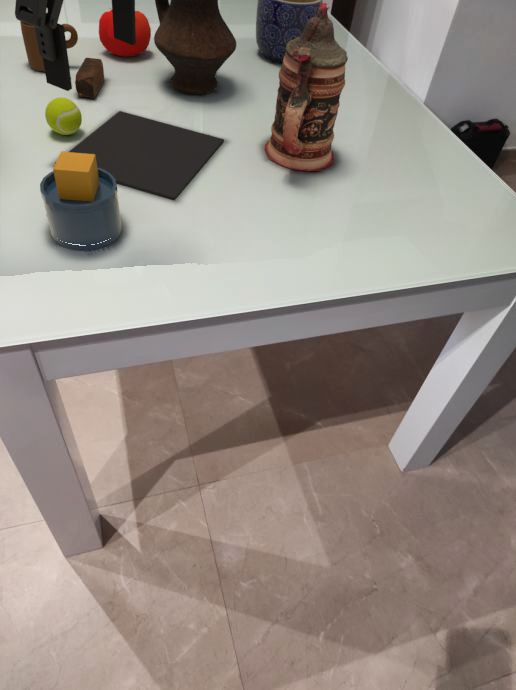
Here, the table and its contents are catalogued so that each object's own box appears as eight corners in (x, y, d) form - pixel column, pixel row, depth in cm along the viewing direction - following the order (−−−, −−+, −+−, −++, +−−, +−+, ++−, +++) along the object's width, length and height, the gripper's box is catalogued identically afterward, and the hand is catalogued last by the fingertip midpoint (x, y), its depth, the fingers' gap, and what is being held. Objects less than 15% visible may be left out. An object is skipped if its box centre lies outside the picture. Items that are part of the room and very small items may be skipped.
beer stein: (303, 141, 115) (235, 150, 106) (328, -8, 97) (249, -12, 88) (352, 170, 105) (282, 183, 96) (391, 10, 87) (309, 7, 78)
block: (59, 199, 76) (52, 169, 73) (67, 181, 80) (60, 151, 76) (93, 202, 77) (88, 172, 73) (99, 183, 80) (95, 154, 76)
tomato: (99, 45, 132) (93, -1, 125) (148, 45, 136) (146, 1, 128) (103, 63, 126) (97, 15, 118) (155, 62, 129) (153, 17, 121)
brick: (87, 78, 119) (84, 56, 116) (105, 79, 120) (102, 58, 116) (76, 98, 112) (73, 76, 109) (95, 100, 113) (92, 78, 109)
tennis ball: (78, 122, 105) (73, 89, 100) (88, 138, 102) (83, 104, 97) (45, 127, 103) (37, 93, 98) (54, 143, 99) (47, 109, 94)
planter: (321, 54, 144) (332, -7, 133) (299, 73, 134) (309, 8, 122) (268, 39, 147) (274, -22, 136) (242, 57, 137) (247, -8, 126)
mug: (83, 61, 125) (76, 17, 118) (81, 74, 120) (75, 29, 113) (31, 58, 123) (21, 14, 116) (27, 72, 118) (17, 26, 111)
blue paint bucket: (36, 238, 81) (24, 193, 74) (75, 202, 88) (67, 158, 82) (99, 258, 79) (91, 213, 73) (133, 220, 86) (129, 176, 80)
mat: (55, 165, 95) (54, 162, 94) (119, 113, 110) (119, 110, 110) (174, 200, 91) (174, 197, 91) (223, 141, 107) (223, 139, 106)
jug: (249, 86, 125) (262, -68, 103) (202, 110, 115) (205, -56, 92) (182, 60, 132) (181, -91, 109) (131, 80, 121) (118, -82, 98)
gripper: (11, -158, 36) (57, 121, 53) (178, -193, 51) (172, 34, 68) (-79, -189, 37) (-5, 95, 54) (112, -215, 51) (122, 15, 68)
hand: (94, 62), depth 61 cm, fingers open, 13 cm apart
